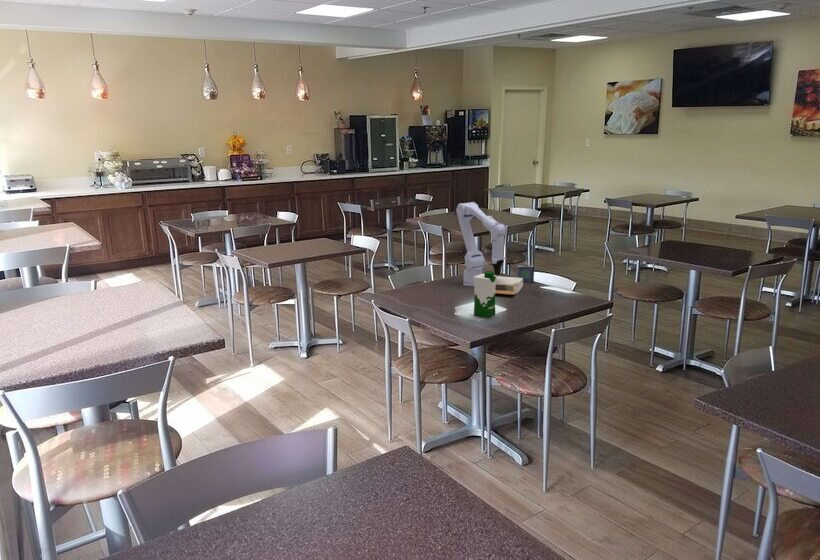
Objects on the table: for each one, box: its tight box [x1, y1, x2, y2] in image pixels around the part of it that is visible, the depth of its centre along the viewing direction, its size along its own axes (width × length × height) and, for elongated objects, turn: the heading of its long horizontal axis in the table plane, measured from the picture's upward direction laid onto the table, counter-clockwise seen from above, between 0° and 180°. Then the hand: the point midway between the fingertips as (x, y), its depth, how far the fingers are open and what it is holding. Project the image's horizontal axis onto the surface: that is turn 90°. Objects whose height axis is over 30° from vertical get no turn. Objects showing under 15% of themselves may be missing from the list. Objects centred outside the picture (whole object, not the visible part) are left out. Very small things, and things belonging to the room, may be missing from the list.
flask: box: [516, 262, 535, 284], centre depth 322 cm, size 9×3×11 cm, turn 76°
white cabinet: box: [495, 275, 524, 294], centre depth 310 cm, size 20×14×5 cm
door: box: [495, 290, 517, 295], centre depth 299 cm, size 19×1×8 cm
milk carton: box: [473, 270, 498, 319], centre depth 267 cm, size 9×9×20 cm
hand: (497, 274), depth 304 cm, fingers closed
